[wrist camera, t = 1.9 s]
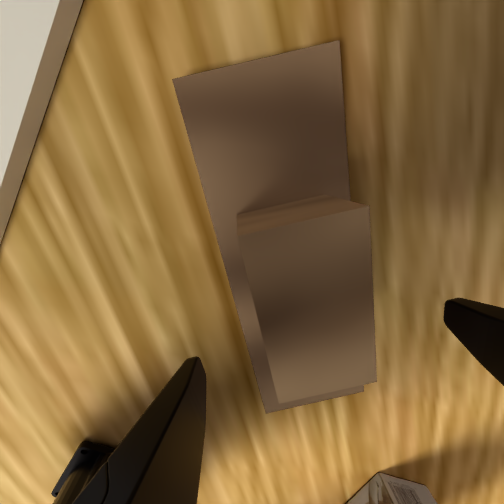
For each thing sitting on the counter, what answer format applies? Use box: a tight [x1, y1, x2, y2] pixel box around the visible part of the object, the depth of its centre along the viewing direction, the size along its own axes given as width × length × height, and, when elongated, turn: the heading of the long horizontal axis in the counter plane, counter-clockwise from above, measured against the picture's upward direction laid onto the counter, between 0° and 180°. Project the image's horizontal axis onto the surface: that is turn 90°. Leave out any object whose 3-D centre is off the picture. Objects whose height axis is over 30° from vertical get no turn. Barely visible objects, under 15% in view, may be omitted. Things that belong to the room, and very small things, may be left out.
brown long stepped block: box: [172, 40, 377, 413], centre depth 12 cm, size 20×7×6 cm, turn 12°
